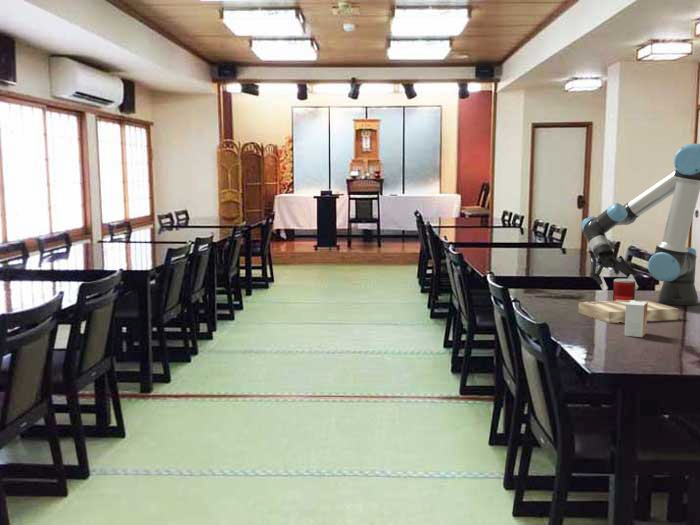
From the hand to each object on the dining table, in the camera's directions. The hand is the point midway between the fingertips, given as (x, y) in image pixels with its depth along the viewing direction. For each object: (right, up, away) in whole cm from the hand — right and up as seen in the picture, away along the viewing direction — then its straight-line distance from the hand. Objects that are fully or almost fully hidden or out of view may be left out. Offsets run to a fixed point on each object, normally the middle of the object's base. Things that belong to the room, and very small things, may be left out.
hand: (621, 289), depth 271 cm
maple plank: (-5, -9, -19) cm, 21 cm away
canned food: (+1, -7, 0) cm, 7 cm away
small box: (-15, -13, -49) cm, 53 cm away
